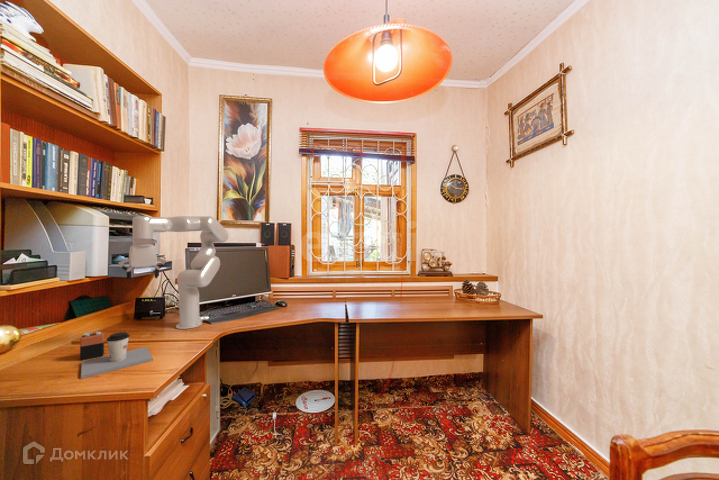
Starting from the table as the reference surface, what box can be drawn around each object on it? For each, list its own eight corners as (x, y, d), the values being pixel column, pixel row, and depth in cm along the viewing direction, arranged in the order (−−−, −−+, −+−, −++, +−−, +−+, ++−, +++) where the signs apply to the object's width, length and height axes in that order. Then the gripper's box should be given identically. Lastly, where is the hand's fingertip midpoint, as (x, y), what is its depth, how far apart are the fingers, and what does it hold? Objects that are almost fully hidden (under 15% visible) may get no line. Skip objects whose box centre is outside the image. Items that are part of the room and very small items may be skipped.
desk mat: (146, 349, 119) (146, 346, 119) (152, 360, 108) (152, 357, 108) (81, 363, 105) (81, 361, 105) (80, 378, 94) (80, 375, 94)
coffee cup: (103, 365, 102) (103, 338, 102) (109, 358, 108) (109, 333, 108) (127, 360, 105) (127, 335, 105) (131, 354, 111) (131, 330, 111)
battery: (81, 357, 111) (81, 333, 111) (104, 353, 115) (104, 329, 115) (79, 361, 107) (79, 336, 107) (103, 356, 112) (103, 332, 112)
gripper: (163, 242, 135) (164, 276, 135) (117, 242, 122) (118, 280, 123) (167, 242, 130) (167, 277, 130) (119, 243, 117) (119, 282, 117)
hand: (143, 279), depth 126 cm, fingers open, 9 cm apart
